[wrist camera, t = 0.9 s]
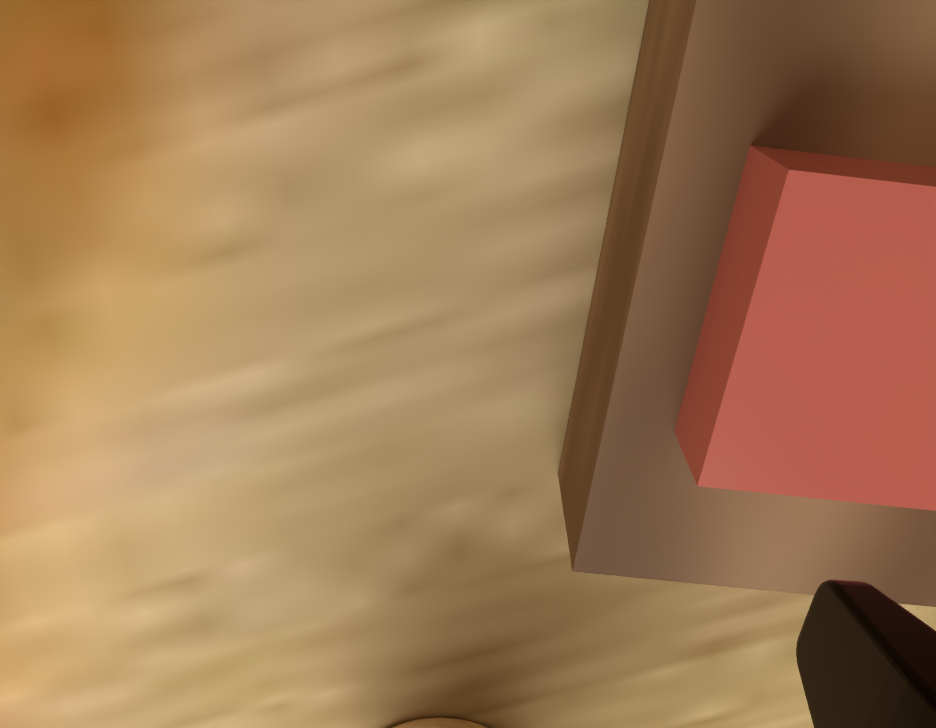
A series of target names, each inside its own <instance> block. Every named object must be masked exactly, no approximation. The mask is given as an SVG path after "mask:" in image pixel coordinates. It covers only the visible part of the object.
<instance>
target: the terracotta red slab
mask: <svg viewBox="0 0 936 728" xmlns="http://www.w3.org/2000/svg"><path fill="white" fill-rule="evenodd" d="M674 432H675V435H676V437H677V439H678V442H679V444H680V446H681V449H682V451H683V453H684V456H685V458H686V461H687V463H688V465H689V468H690V470H691V472H692V475H693V477H694V479H695V482H696V484H697V486H700V487H709V488H719V489H729V490H738V491H748V492H758V493H768V494H777V495H787V496H797V497H807V498H816V499H826V500H836V501H846V502H855V503H865V504H875V505H885V506H894V507H904V508H914V509H924V510H933V511H936V167H929V166H921V165H912V164H904V163H895V162H887V161H878V160H870V159H861V158H853V157H844V156H836V155H827V154H819V153H810V152H802V151H793V150H785V149H776V148H768V147H759V146H751V145H750V146H749V150H748V154H747V158H746V161H745V165H744V169H743V173H742V177H741V180H740V184H739V188H738V192H737V196H736V199H735V203H734V207H733V211H732V215H731V218H730V222H729V226H728V230H727V234H726V237H725V241H724V245H723V249H722V253H721V256H720V260H719V264H718V268H717V272H716V275H715V279H714V283H713V287H712V291H711V294H710V298H709V302H708V306H707V310H706V313H705V317H704V321H703V325H702V329H701V332H700V336H699V340H698V344H697V348H696V351H695V355H694V359H693V363H692V367H691V370H690V374H689V378H688V382H687V386H686V389H685V393H684V397H683V401H682V404H681V408H680V412H679V416H678V420H677V423H676V427H675V431H674Z"/></svg>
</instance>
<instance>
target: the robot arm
mask: <svg viewBox="0 0 936 728" xmlns="http://www.w3.org/2000/svg"><path fill="white" fill-rule="evenodd" d="M796 656H797V664H798V668H799V672H800V676H801V680H802V684H803V687H804V691H805V695H806V699H807V702H808V706H809V710H810V714H811V718H812V721H813V725H814V728H936V631H935V630H934V629H932V628H931V627H929V626H928V625H927V624H925V623H924V622H922V621H921V620H920V619H918V618H917V617H916V616H914V615H913V614H911V613H910V612H909V611H907V610H906V609H904V608H903V607H902V606H900V605H899V604H897V603H896V602H895V601H893V600H892V599H891V598H889V597H888V596H886V595H885V594H884V593H882V592H881V591H879V590H878V589H877V588H875V587H874V586H872V585H871V584H868V583H866V582H861V581H849V580H827V581H824V582H823V583H821V584H820V585H819V586H818V588H817V590H816V592H815V595H814V598H813V600H812V603H811V606H810V608H809V611H808V613H807V616H806V619H805V621H804V624H803V627H802V629H801V632H800V634H799V637H798V641H797V648H796Z"/></svg>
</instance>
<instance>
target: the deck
mask: <svg viewBox="0 0 936 728" xmlns="http://www.w3.org/2000/svg"><path fill="white" fill-rule="evenodd" d="M750 145H751V146H759V147H768V148H776V149H785V150H793V151H802V152H810V153H819V154H827V155H836V156H844V157H853V158H861V159H870V160H878V161H887V162H895V163H904V164H912V165H921V166H929V167H936V0H649V6H648V11H647V16H646V21H645V26H644V31H643V37H642V42H641V47H640V52H639V57H638V63H637V68H636V73H635V78H634V83H633V88H632V94H631V99H630V104H629V109H628V114H627V120H626V125H625V130H624V135H623V140H622V145H621V151H620V156H619V161H618V166H617V171H616V177H615V182H614V187H613V192H612V197H611V202H610V208H609V213H608V218H607V223H606V228H605V234H604V239H603V244H602V249H601V254H600V259H599V265H598V270H597V275H596V280H595V285H594V291H593V296H592V301H591V306H590V311H589V316H588V322H587V327H586V332H585V337H584V342H583V348H582V353H581V358H580V363H579V368H578V373H577V379H576V384H575V389H574V394H573V399H572V405H571V410H570V415H569V420H568V425H567V430H566V436H565V441H564V446H563V451H562V456H561V462H560V467H559V472H558V478H559V485H560V491H561V498H562V504H563V511H564V517H565V524H566V531H567V537H568V544H569V550H570V557H571V563H572V570H573V571H575V572H586V573H596V574H606V575H616V576H626V577H636V578H647V579H657V580H667V581H677V582H687V583H697V584H708V585H718V586H728V587H738V588H748V589H758V590H768V591H779V592H789V593H799V594H809V595H815V592H816V590H817V588H818V586H819V585H820V584H821V583H823V582H824V581H827V580H849V581H861V582H866V583H868V584H871V585H872V586H874V587H875V588H877V589H878V590H879V591H881V592H882V593H884V594H885V595H886V596H888V597H889V598H891V599H892V600H893V601H895V602H896V603H900V604H911V605H921V606H931V607H936V511H933V510H924V509H914V508H904V507H894V506H885V505H875V504H865V503H855V502H846V501H836V500H826V499H816V498H807V497H797V496H787V495H777V494H768V493H758V492H748V491H738V490H729V489H719V488H709V487H700V486H697V484H696V482H695V479H694V477H693V475H692V472H691V470H690V468H689V465H688V463H687V461H686V458H685V456H684V453H683V451H682V449H681V446H680V444H679V442H678V439H677V437H676V435H675V432H674V431H675V427H676V423H677V420H678V416H679V412H680V408H681V404H682V401H683V397H684V393H685V389H686V386H687V382H688V378H689V374H690V370H691V367H692V363H693V359H694V355H695V351H696V348H697V344H698V340H699V336H700V332H701V329H702V325H703V321H704V317H705V313H706V310H707V306H708V302H709V298H710V294H711V291H712V287H713V283H714V279H715V275H716V272H717V268H718V264H719V260H720V256H721V253H722V249H723V245H724V241H725V237H726V234H727V230H728V226H729V222H730V218H731V215H732V211H733V207H734V203H735V199H736V196H737V192H738V188H739V184H740V180H741V177H742V173H743V169H744V165H745V161H746V158H747V154H748V150H749V146H750Z"/></svg>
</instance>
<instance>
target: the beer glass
mask: <svg viewBox="0 0 936 728" xmlns="http://www.w3.org/2000/svg"><path fill="white" fill-rule="evenodd" d="M392 728H488V727H485V726H483V725H480V724H477V723H474V722H471V721H467V720H462V719H455V718H441V717H439V718H423V719H417V720H412V721H408V722H405V723H402V724H399V725H396V726H394V727H392Z"/></svg>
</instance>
